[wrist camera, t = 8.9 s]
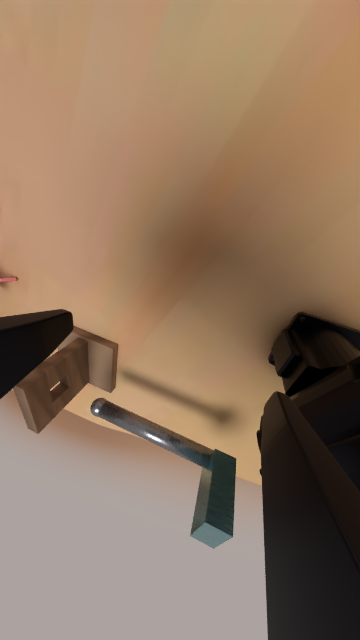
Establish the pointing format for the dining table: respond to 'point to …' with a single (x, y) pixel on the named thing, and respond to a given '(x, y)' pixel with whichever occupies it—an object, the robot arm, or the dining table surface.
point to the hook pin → (217, 466)
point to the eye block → (66, 376)
